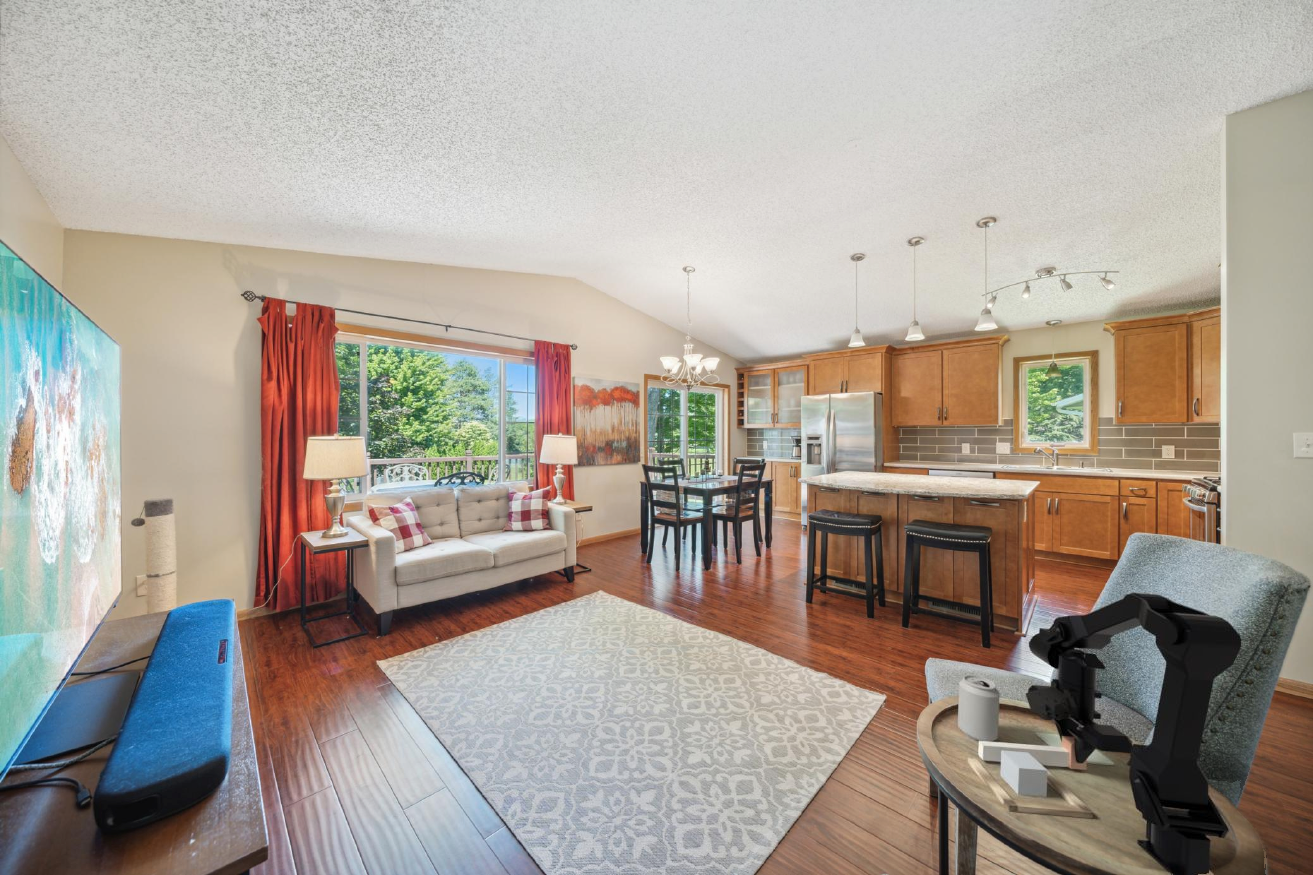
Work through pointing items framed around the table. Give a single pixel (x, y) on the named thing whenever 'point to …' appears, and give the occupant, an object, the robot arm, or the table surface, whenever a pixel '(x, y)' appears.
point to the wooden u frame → (1071, 810)
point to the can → (978, 708)
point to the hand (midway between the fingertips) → (1073, 758)
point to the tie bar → (1035, 752)
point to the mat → (1056, 742)
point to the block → (1024, 773)
